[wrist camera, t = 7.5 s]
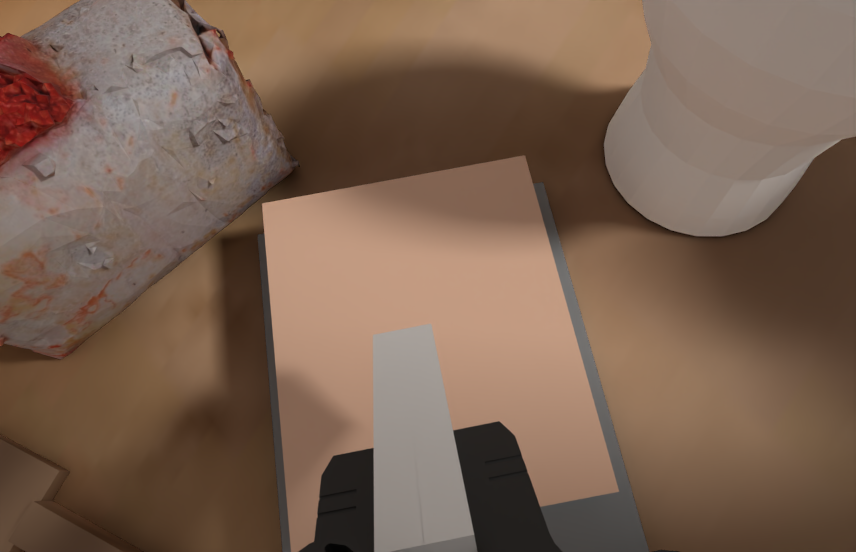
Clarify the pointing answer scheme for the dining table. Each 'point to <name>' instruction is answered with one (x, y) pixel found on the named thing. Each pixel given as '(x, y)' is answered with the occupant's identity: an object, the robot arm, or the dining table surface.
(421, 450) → the robot arm
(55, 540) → the spatula
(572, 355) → the tile
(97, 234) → the food item
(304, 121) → the dining table surface
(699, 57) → the cup
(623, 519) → the mat
